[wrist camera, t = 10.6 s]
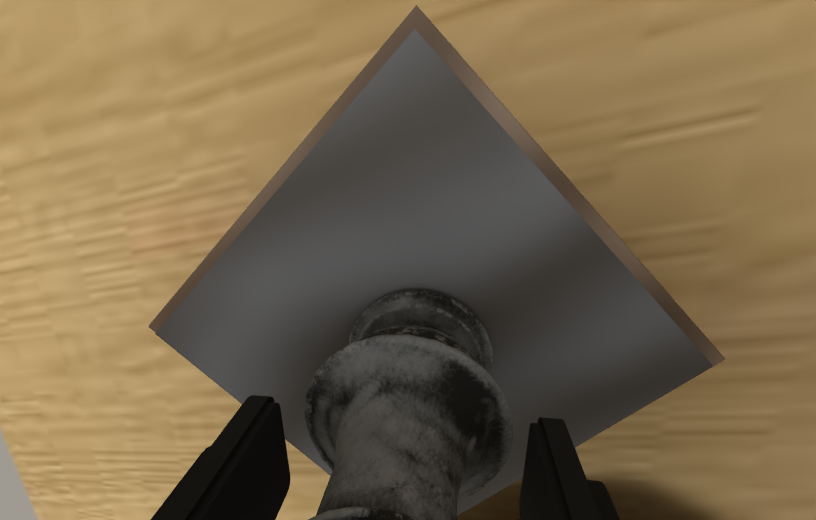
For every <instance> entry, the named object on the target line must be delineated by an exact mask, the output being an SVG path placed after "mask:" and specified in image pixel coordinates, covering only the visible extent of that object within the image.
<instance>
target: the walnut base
mask: <svg viewBox="0 0 816 520" xmlns="http://www.w3.org/2000/svg"><path fill="white" fill-rule="evenodd" d="M415 290H423V291H428V292H433V293H438V294H442V295H444V296H447V297H449V298H451V299H453V300H455V301H457V302H460V303H461V304H462V305H463V306H465V307H466V308H467V309H468V310H469V311H471V312H472V313H473V314H474V315H475V316H476V317H477V318H478V320H479V321H480V323H481V324H482V325H483V327H484V328H485V329H486V332H487V334H488V337H489V340H490V343H491V345H492V357H493V367H492V370H491V374H490V375H491V376H492V378H493V379H494V380H495V382H496V383H497V384H498V386H499V387H500V388H501V390H502V391H503V392H504V395H505V398H506V400H507V403H508V406H509V409H510V411H511V414H512V420H513V443H512V446H511V449H510V452H509V455H508V459H507V462H506V463H505V465H504V466H503V467H502V469H501V470H500V471H499V473H498V474H497V475H496V477H495V478H494V479H493V480H492V481H491V482H490V483H488V484H487V485H485V486H484V487H483V488H481V489H480V490H479V491H477V492H476V493H475V494H473V495H470V496H468V497H465V498H463V499H460V500H458V501H457V516H458V515H460V514H461V513H463V512H465V511H467V510H468V509H470V508H472V507H473V506H475V505H477V504H479V503H480V502H482V501H484V500H485V499H487V498H489V497H491V496H492V495H494V494H496V493H497V492H499V491H501V490H503V489H504V488H506V487H508V486H509V485H511V484H513V483H515V482H516V481H518V480H520V479H521V478H523V473H524V465H525V458H526V450H527V443H528V435H529V428H530V424H531V423H537V422H538V419H539V417H543V418H556V419H563V420H564V422H565V424H566V426H567V429H568V432H569V434H570V437H571V440H572V442H573V445H574V447H576V446H578V445H580V444H581V443H583V442H585V441H586V440H588V439H590V438H592V437H593V436H595V435H597V434H598V433H600V432H602V431H603V430H605V429H607V428H609V427H610V426H612V425H614V424H615V423H617V422H619V421H621V420H622V419H624V418H626V417H627V416H629V415H631V414H633V413H634V412H636V411H638V410H639V409H641V408H643V407H645V406H646V405H648V404H650V403H651V402H653V401H655V400H657V399H658V398H660V397H662V396H663V395H665V394H667V393H668V392H670V391H672V390H674V389H675V388H677V387H679V386H680V385H682V384H684V383H686V382H687V381H689V380H691V379H692V378H694V377H696V376H698V375H699V374H701V373H703V372H704V371H706V370H708V369H710V368H711V367H713V366H715V365H716V364H718V363H720V362H722V361H723V360H725V358H724V357H723V356H722V354H721V353H720V352H719V351H718V350H717V349H716V348H715V346H714V345H713V344H712V343H711V342H710V341H709V340H708V338H707V337H706V336H705V335H704V334H703V333H702V332H701V330H700V329H699V328H698V327H697V326H696V325H695V324H694V322H693V321H692V320H691V319H690V318H689V317H688V316H687V314H686V313H685V312H684V311H683V310H682V309H681V308H680V306H679V305H678V304H677V303H676V302H675V301H674V300H673V298H672V297H671V296H670V295H669V294H668V293H667V291H666V290H665V289H664V288H663V287H662V286H661V285H660V283H659V282H658V281H657V280H656V279H655V278H654V277H653V275H652V274H651V273H650V272H649V271H648V270H647V269H646V267H645V266H644V265H643V264H642V263H641V262H640V261H639V259H638V258H637V257H636V256H635V255H634V254H633V253H632V251H631V250H630V249H629V248H628V247H627V246H626V245H625V243H624V242H623V241H622V240H621V239H620V238H619V237H618V235H617V234H616V233H615V232H614V231H613V230H612V229H611V227H610V226H609V225H608V224H607V223H606V222H605V221H604V219H603V218H602V217H601V216H600V215H599V214H598V213H597V211H596V210H595V209H594V208H593V207H592V206H591V204H590V203H589V202H588V201H587V200H586V199H585V198H584V196H583V195H582V194H581V193H580V192H579V191H578V190H577V188H576V187H575V186H574V185H573V184H572V183H571V182H570V180H569V179H568V178H567V177H566V176H565V175H564V174H563V172H562V171H561V170H560V169H559V168H558V167H557V166H556V164H555V163H554V162H553V161H552V160H551V159H550V158H549V156H548V155H547V154H546V153H545V152H544V151H543V150H542V148H541V147H540V146H539V145H538V144H537V143H536V142H535V140H534V139H533V138H532V137H531V136H530V135H529V134H528V132H527V131H526V130H525V129H524V128H523V127H522V125H521V124H520V123H519V122H518V121H517V120H516V119H515V117H514V116H513V115H512V114H511V113H510V112H509V111H508V109H507V108H506V107H505V106H504V105H503V104H502V103H501V101H500V100H499V99H498V98H497V97H496V96H495V95H494V93H493V92H492V91H491V90H490V89H489V88H488V87H487V85H486V84H485V83H484V82H483V81H482V80H481V79H480V77H479V76H478V75H477V74H476V73H475V72H474V71H473V69H472V68H471V67H470V66H469V65H468V64H467V63H466V61H465V60H464V59H463V58H462V57H461V56H460V55H459V53H458V52H457V51H456V50H455V49H454V48H453V46H452V45H451V44H450V43H449V42H448V41H447V40H446V38H445V37H444V36H443V35H442V34H441V33H440V32H439V30H438V29H437V28H436V27H435V26H434V25H433V24H432V22H431V21H430V20H429V19H428V18H427V17H426V16H425V14H424V13H423V12H422V11H421V10H420V9H419V8H418V6H417V5H416V6H415V8H414V9H413V10H412V11H411V12H410V14H409V15H408V16H407V17H406V18H405V20H404V21H403V22H402V23H401V24H400V25H399V27H398V28H397V29H396V30H395V31H394V33H393V34H392V35H391V36H390V37H389V39H388V40H387V41H386V42H385V43H384V45H383V46H382V47H381V48H380V49H379V51H378V52H377V53H376V54H375V55H374V57H373V58H372V59H371V60H370V61H369V63H368V64H367V65H366V66H365V67H364V69H363V70H362V71H361V72H360V73H359V75H358V76H357V77H356V78H355V79H354V81H353V82H352V83H351V84H350V85H349V87H348V88H347V89H346V90H345V91H344V93H343V94H342V95H341V96H340V97H339V99H338V100H337V101H336V102H335V103H334V105H333V106H332V107H331V108H330V109H329V111H328V112H327V113H326V114H325V115H324V116H323V118H322V119H321V120H320V121H319V122H318V124H317V125H316V126H315V127H314V128H313V130H312V131H311V132H310V133H309V134H308V136H307V137H306V138H305V139H304V140H303V142H302V143H301V144H300V145H299V146H298V148H297V149H296V150H295V151H294V152H293V154H292V155H291V156H290V157H289V158H288V160H287V161H286V162H285V163H284V164H283V166H282V167H281V168H280V169H279V170H278V172H277V173H276V174H275V175H274V176H273V178H272V179H271V180H270V181H269V182H268V184H267V185H266V186H265V187H264V188H263V190H262V191H261V192H260V193H259V194H258V196H257V197H256V198H255V199H254V200H253V202H252V203H251V204H250V205H249V206H248V207H247V209H246V210H245V211H244V212H243V213H242V215H241V216H240V217H239V218H238V219H237V221H236V222H235V223H234V224H233V225H232V227H231V228H230V229H229V230H228V231H227V233H226V234H225V235H224V236H223V237H222V239H221V240H220V241H219V242H218V243H217V245H216V246H215V247H214V248H213V249H212V251H211V252H210V253H209V254H208V255H207V257H206V258H205V259H204V260H203V261H202V263H201V264H200V265H199V266H198V267H197V269H196V270H195V271H194V272H193V273H192V275H191V276H190V277H189V278H188V279H187V281H186V282H185V283H184V284H183V285H182V287H181V288H180V289H179V290H178V291H177V293H176V294H175V295H174V296H173V297H172V298H171V300H170V301H169V302H168V303H167V304H166V306H165V307H164V308H163V309H162V310H161V312H160V313H159V314H158V315H157V316H156V318H155V319H154V320H153V321H152V322H151V324H150V325H149V326H148V327H149V328H151V329H152V330H153V331H154V332H156V333H155V334H156V335H157V336H159V337H160V338H161V339H162V340H164V341H165V342H166V343H167V344H169V345H170V346H171V347H172V348H174V349H175V350H176V351H177V352H178V353H180V354H181V355H182V356H183V357H185V358H186V359H187V360H188V361H190V362H191V363H192V364H193V365H195V366H196V367H197V368H198V369H200V370H201V371H202V372H203V373H204V374H206V375H207V376H208V377H209V378H211V379H212V380H213V381H214V382H216V383H217V384H218V385H219V386H221V387H222V388H223V389H224V390H225V391H227V392H228V393H229V394H230V395H232V396H233V397H234V398H235V399H237V400H238V401H239V402H240V403H242V404H243V403H244V402H245V400H246V399H247V398H248V397H249V396H251V395H259V396H271V397H273V398H274V400H275V403H279V404H280V407H281V414H282V422H283V429H284V436H285V439H286V440H287V441H288V442H290V443H291V444H292V445H293V446H295V447H296V448H297V449H298V450H300V451H301V452H302V453H303V454H305V455H306V456H307V457H308V458H309V459H311V460H312V461H313V462H314V463H316V464H317V465H318V466H319V467H321V468H322V469H323V470H324V471H326V472H327V473H328V474H329V475H331V474H332V472H333V470H332V469H331V468H330V467H329V466H328V465H327V464H326V463H325V462H324V461H323V460H322V458H321V457H320V455H319V453H318V451H317V450H316V448H315V446H314V444H313V442H312V441H311V439H310V437H309V433H308V428H307V424H306V420H305V401H306V394H307V391H308V389H309V386H310V384H311V382H312V379H313V377H314V375H315V373H316V372H317V371H318V369H319V368H320V367H321V366H322V365H323V364H324V363H325V361H326V360H327V359H328V358H329V357H330V356H331V355H332V354H334V353H336V352H337V351H339V350H341V349H342V348H344V347H346V346H347V345H349V339H350V334H351V332H352V330H353V327H354V325H355V323H356V321H357V319H358V318H359V316H360V315H361V314H362V313H363V312H364V311H365V310H366V308H367V307H368V306H370V305H371V304H373V303H374V302H376V301H377V300H379V299H381V298H382V297H384V296H387V295H391V294H394V293H397V292H400V291H415Z"/></svg>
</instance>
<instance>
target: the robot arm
mask: <svg viewBox="0 0 816 520" xmlns="http://www.w3.org/2000/svg"><path fill="white" fill-rule="evenodd" d="M289 485H290V471H289V464H288V457H287V450H286V443H285V436H284V429H283V422H282V414H281V407H280V404H279V403H275V400H274V398H273V397H271V396H259V395H251V396H249V397H248V398H247V399H246V400H245V402H244V403H243V404H242V406H241V407H240V408H239V410H238V411H237V412H236V414H235V415H234V416H233V418H232V419H231V420H230V422H229V423H228V424H227V426H226V427H225V428H224V430H223V431H222V432H221V434H220V435H219V436H218V438H217V439H216V440H215V442H214V443H213V444H212V446H210V447H208V448H206V449H205V450H204V451H203V452H202V453H201V455H200V456H199V457H198V459H197V460H196V461H195V463H194V464H193V465H192V466H191V468H190V469H189V470H188V472H187V473H186V474H185V476H184V477H183V478H182V480H181V481H180V482H179V483H178V485H177V486H176V487H175V489H174V490H173V491H172V493H171V494H170V495H169V496H168V498H167V499H166V500H165V502H164V503H163V504H162V506H161V507H160V508H159V510H158V511H157V512H156V513H155V515H154V516H153V517H152V519H151V520H275V519H276V517H277V514H278V512H279V510H280V508H281V506H282V503H283V501H284V499H285V497H286V494H287V492H288V489H289ZM520 516H521V520H620V519H619V516H618V514H617V511H616V509H615V507H614V504H613V502H612V500H611V497H610V495H609V493H608V491H607V489H606V487H605V485H604V484H603V483H602V482H599V481H591V480H587V479H586V477H585V474H584V471H583V469H582V466H581V464H580V461H579V458H578V456H577V453H576V450H575V448H574V445H573V442H572V440H571V437H570V434H569V432H568V429H567V426H566V424H565V422H564V420H563V419H556V418H543V417H539V419H538V422H537V423H531V424H530V428H529V435H528V443H527V450H526V458H525V465H524V473H523V480H522V488H521V495H520Z"/></svg>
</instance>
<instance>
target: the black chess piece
mask: <svg viewBox="0 0 816 520" xmlns="http://www.w3.org/2000/svg"><path fill="white" fill-rule="evenodd" d="M492 367H493V357H492V345H491V343H490V340H489V337H488V334H487V332H486V329H485V328H484V327H483V325H482V324H481V323H480V321H479V320H478V318H477V317H476V316H475V315H474V314H473V313H472V312H471V311H469V310H468V309H467V308H466V307H465V306H463V305H462V304H461V303H460V302H457V301H455V300H453V299H451V298H449V297H447V296H444V295H442V294H438V293H433V292H428V291H423V290H415V291H400V292H397V293H394V294H391V295H387V296H384V297H382V298H381V299H379V300H377V301H376V302H374V303H373V304H371V305H370V306H368V307H367V308H366V310H365V311H364V312H363V313H362V314H361V315H360V316H359V318H358V319H357V321H356V323H355V325H354V327H353V330H352V332H351V334H350V339H349V345H347V346H346V347H344V348H342V349H341V350H339V351H337V352H336V353H334V354H332V355H331V356H330V357H329V358H328V359H327V360H326V361H325V363H324V364H323V365H322V366H321V367H320V368H319V369H318V371H317V372H316V373H315V375H314V377H313V379H312V382H311V384H310V386H309V389H308V391H307V394H306V401H305V420H306V424H307V428H308V433H309V437H310V439H311V441H312V442H313V444H314V446H315V448H316V450H317V451H318V453H319V455H320V457H321V458H322V460H323V461H324V462H325V463H326V464H327V465H328V466H329V467H330V468H331V469H332V470H333V472H332V474H331V477H330V480H329V482H328V485H327V488H326V490H325V493H324V495H323V498H322V501H321V503H320V506H319V509H318V511H317V514H316V516H315V517H313V518H311V519H308V520H457V501H458V500H460V499H463V498H465V497H468V496H470V495H473V494H475V493H476V492H477V491H479V490H480V489H481V488H483V487H484V486H485V485H487V484H488V483H490V482H491V481H492V480H493V479H494V478H495V477H496V475H497V474H498V473H499V471H500V470H501V469H502V467H503V466H504V465H505V463H506V462H507V459H508V455H509V452H510V449H511V446H512V443H513V420H512V414H511V411H510V409H509V406H508V403H507V400H506V398H505V395H504V392H503V391H502V390H501V388H500V387H499V386H498V384H497V383H496V382H495V380H494V379H493V378H492V376H491V375H490V374H491V370H492Z"/></svg>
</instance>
